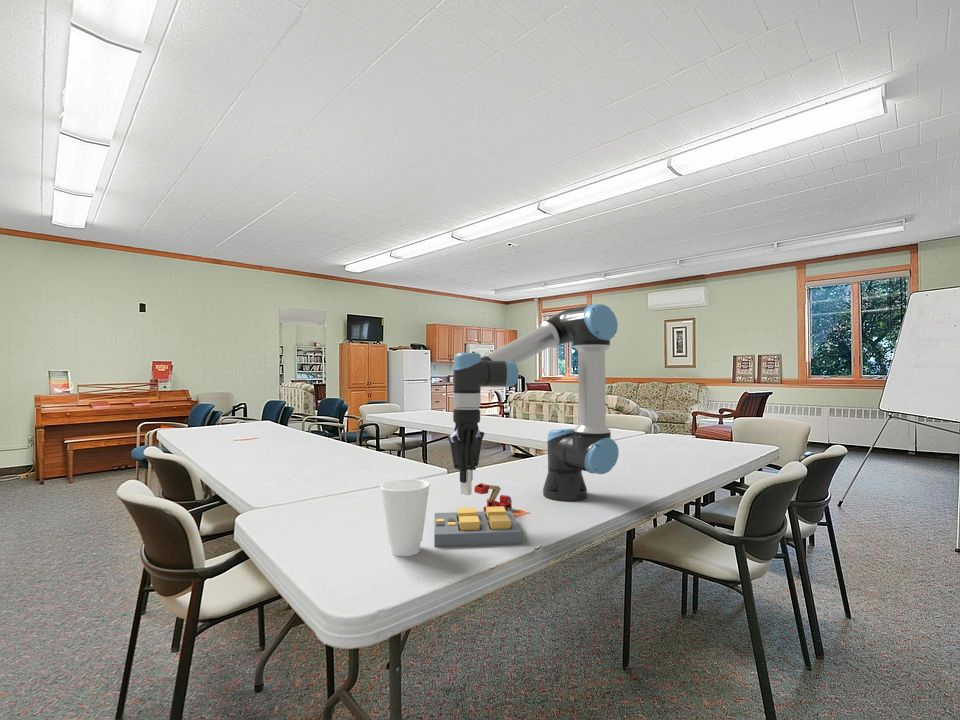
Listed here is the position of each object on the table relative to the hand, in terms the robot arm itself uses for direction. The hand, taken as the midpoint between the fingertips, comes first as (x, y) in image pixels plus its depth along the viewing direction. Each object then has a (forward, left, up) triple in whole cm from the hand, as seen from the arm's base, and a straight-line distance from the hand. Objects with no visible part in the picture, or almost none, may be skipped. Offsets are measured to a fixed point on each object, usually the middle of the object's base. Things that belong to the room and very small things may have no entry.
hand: (466, 493), depth 132 cm
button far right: (0, 0, -8) cm, 8 cm away
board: (-2, +4, -10) cm, 11 cm away
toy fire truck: (-9, -13, -10) cm, 19 cm away
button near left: (-8, +8, -8) cm, 14 cm away
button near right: (0, +8, -8) cm, 11 cm away
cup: (+16, +15, -10) cm, 24 cm away
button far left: (-8, 0, -8) cm, 11 cm away
